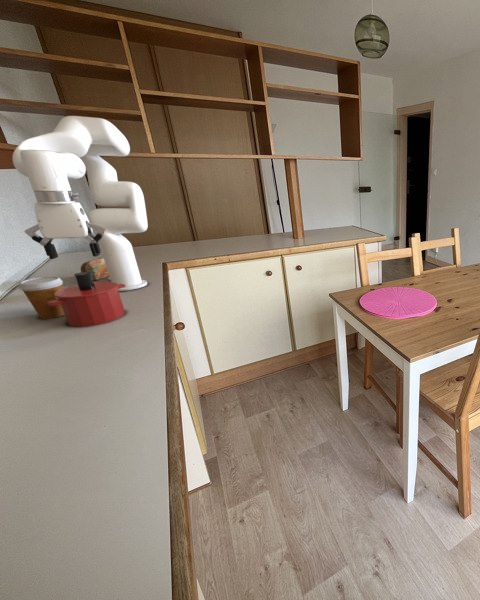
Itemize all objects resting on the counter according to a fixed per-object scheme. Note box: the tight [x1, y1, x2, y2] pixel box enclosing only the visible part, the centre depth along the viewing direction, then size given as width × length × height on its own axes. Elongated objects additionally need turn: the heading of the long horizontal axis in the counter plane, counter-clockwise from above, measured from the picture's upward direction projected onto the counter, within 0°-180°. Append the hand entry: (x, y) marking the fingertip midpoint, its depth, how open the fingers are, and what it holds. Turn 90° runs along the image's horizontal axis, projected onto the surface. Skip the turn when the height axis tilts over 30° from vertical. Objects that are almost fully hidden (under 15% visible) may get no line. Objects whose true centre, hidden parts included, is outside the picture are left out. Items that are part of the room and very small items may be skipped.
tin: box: [80, 257, 110, 281], centre depth 140 cm, size 15×3×8 cm, turn 179°
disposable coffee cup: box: [18, 275, 65, 319], centre depth 101 cm, size 10×10×12 cm
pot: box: [47, 284, 126, 328], centre depth 100 cm, size 14×19×10 cm
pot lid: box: [54, 271, 118, 298], centre depth 98 cm, size 15×15×6 cm
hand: (76, 256), depth 95 cm, fingers open, 9 cm apart
